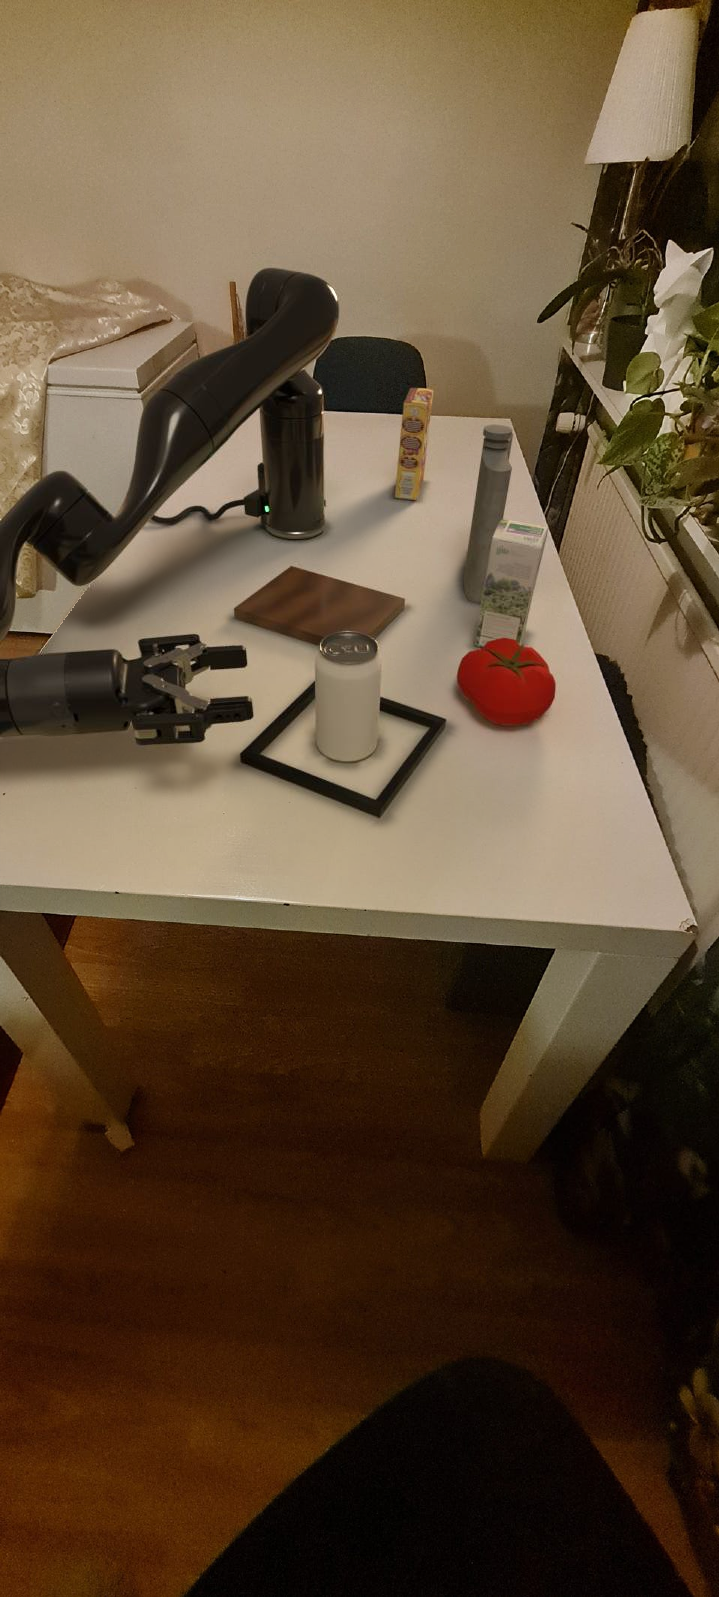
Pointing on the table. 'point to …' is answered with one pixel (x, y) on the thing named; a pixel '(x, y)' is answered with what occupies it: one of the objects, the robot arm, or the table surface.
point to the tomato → (507, 682)
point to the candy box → (413, 443)
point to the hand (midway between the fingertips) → (249, 680)
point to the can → (347, 695)
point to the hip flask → (487, 506)
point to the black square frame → (333, 790)
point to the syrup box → (510, 581)
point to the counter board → (318, 606)
